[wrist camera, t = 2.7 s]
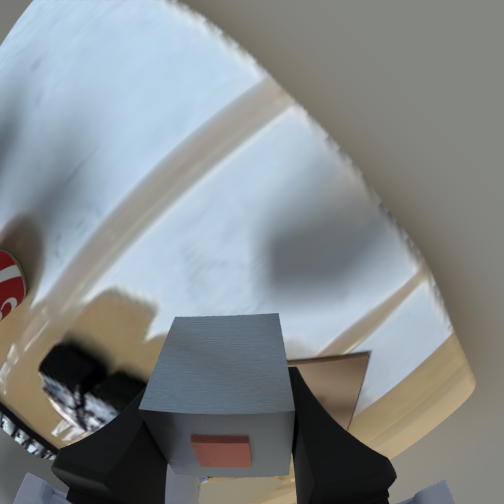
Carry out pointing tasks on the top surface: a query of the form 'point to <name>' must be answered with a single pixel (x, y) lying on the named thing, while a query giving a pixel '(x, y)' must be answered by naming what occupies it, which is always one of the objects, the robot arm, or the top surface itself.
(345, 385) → the board
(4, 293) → the soda can
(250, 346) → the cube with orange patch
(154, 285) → the top surface
